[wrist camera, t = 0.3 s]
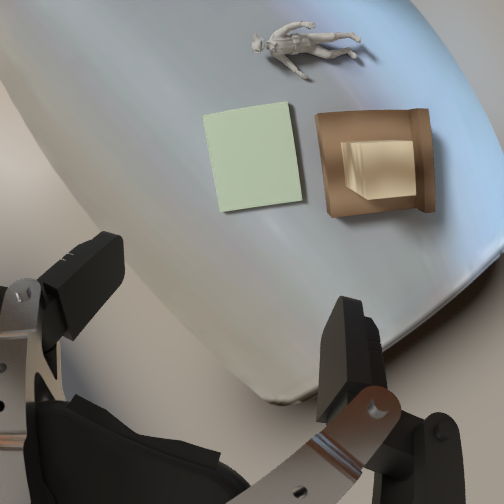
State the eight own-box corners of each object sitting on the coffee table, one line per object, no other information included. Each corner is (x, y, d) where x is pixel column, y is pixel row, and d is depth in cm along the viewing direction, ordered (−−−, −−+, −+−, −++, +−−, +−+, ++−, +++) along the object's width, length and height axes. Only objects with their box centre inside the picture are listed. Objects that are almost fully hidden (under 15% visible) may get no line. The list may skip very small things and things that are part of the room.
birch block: (340, 142, 31) (362, 143, 23) (381, 139, 30) (412, 141, 23) (345, 186, 32) (367, 199, 25) (385, 182, 32) (416, 195, 24)
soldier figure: (352, 78, 31) (263, 89, 29) (332, 61, 33) (248, 69, 31) (365, 27, 24) (266, 27, 22) (341, 12, 26) (248, 14, 24)
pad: (203, 116, 33) (202, 115, 32) (287, 102, 32) (287, 101, 31) (221, 210, 37) (220, 212, 36) (301, 199, 36) (302, 200, 35)
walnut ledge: (314, 115, 32) (322, 111, 27) (407, 111, 31) (428, 108, 26) (327, 211, 37) (336, 223, 31) (415, 201, 35) (435, 211, 30)
